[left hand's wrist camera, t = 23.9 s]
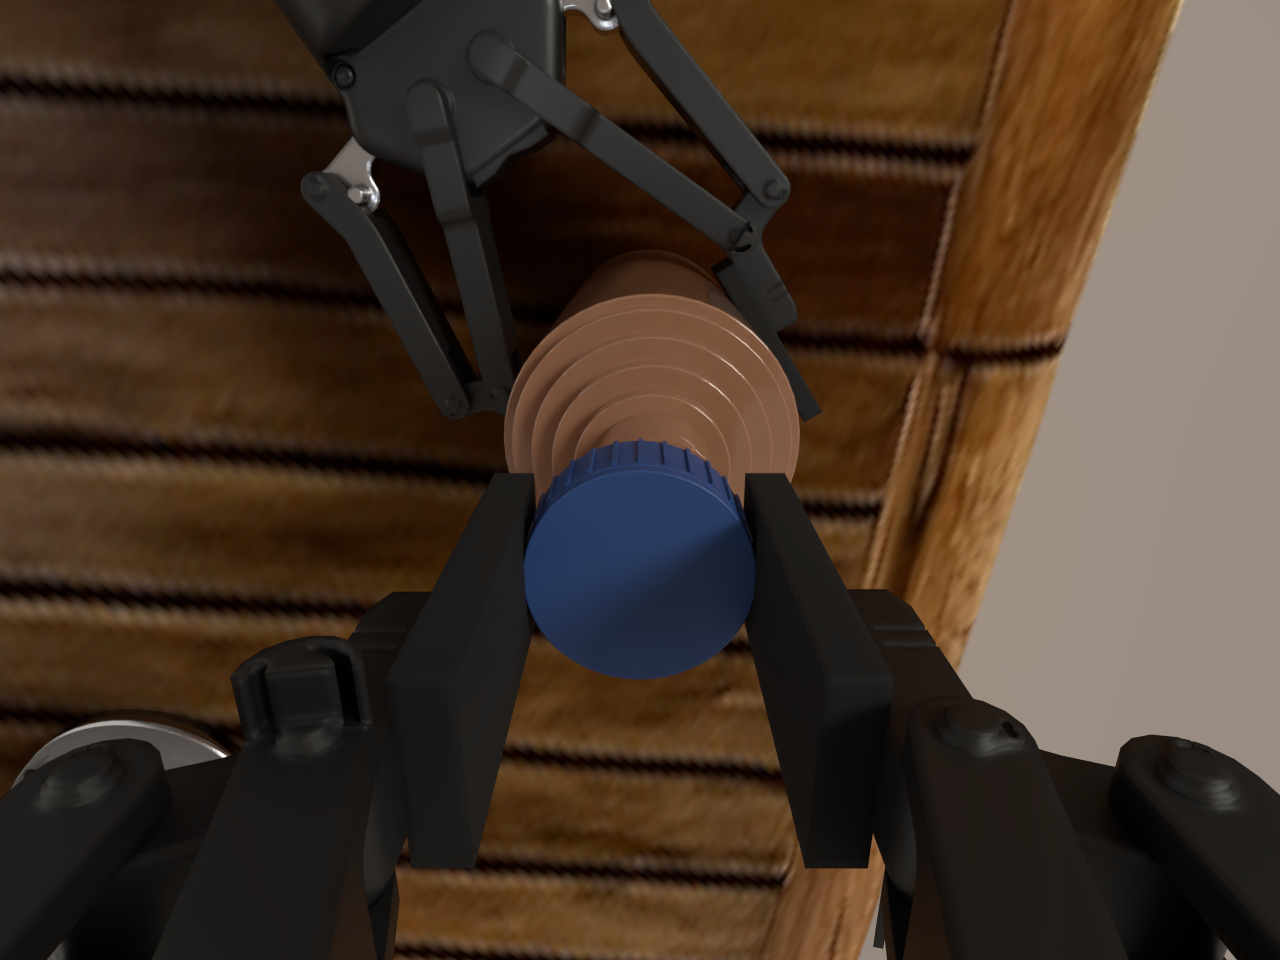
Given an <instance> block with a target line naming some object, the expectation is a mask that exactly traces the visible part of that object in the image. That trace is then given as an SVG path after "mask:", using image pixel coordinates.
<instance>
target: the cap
mask: <svg viewBox="0 0 1280 960" xmlns="http://www.w3.org/2000/svg"><path fill="white" fill-rule="evenodd" d="M526 544H527V547H526V550H525V555H524V576H525V592H526V602H527V605H528V608H529V610H530V612H531V615H532V617H533V619H534V621H535V622H536V624H537V626H538V627H539V629H540V630H541V632H542V633H543V634H544V635H545V637H546V638H547V639H548V640H549V641H550V642H551V643H552V644H553V645H554V646H555V647H556V648H557V649H558V650H559V651H560V652H562V653H563V654H564V655H565V656H567V657H568V658H569V659H571V660H573V661H575V662H576V663H578V664H580V665H581V666H584V667H586V668H588V669H590V670H593V671H595V672H598V673H602V674H605V675H608V676H613V677H618V678H625V679H654V678H661V677H667V676H671V675H675V674H678V673H681V672H684V671H687V670H689V669H692V668H694V667H696V666H698V665H700V664H702V663H703V662H705V661H707V660H708V659H710V658H711V657H713V656H714V655H715V654H717V653H718V652H719V651H720V650H721V649H723V648H724V647H725V646H726V645H727V644H728V643H729V642H730V641H731V640H732V638H733V637H734V636H735V635H736V634H737V632H738V631H739V629H740V628H741V626H742V625H743V623H744V622H745V620H746V618H747V616H748V613H749V611H750V609H751V606H752V603H753V599H754V585H755V567H756V557H755V553H754V549H753V546H752V545H753V538H752V535H751V532H750V529H749V526H748V523H747V519H746V516H745V513H744V510H743V507H742V504H741V501H740V498H739V496H738V494H736V495H734V493H733V491H732V490H731V488H730V487H729V483H728V480H727V478H726V476H725V475H724V476H721V475H720V474H719V473H718V472H717V471H716V470H715V469H714V468H713V467H712V466H711V463H710V461H708V460H706V461H704V460H702V459H701V458H699V457H698V456H696V455H694V454H692V453H691V452H690V449H688V448H686V449H685V450H684V449H681V448H679V447H676V446H673V445H670V444H667V441H662V443H660V442H654V441H643V439H642V438H638V441H626V442H620V443H618V440H617V441H614V443H613V444H610V445H607V446H604V447H600V448H598V449H596V450H595V448H592V449H590V452H589V453H587V454H585V455H584V456H582V457H580V458H579V459H577V460H574V459H573V460H571V461H570V463H569V466H568V467H567V468H565V469H564V470H563V471H562V472H561V474H560V475H559V476H557V475H555V476H554V477H553V480H552V483H551V486H550V487H549V489H548V490H547V492H546V494H544V493H542V495H541V497H540V500H539V503H538V506H537V509H536V512H535V515H534V518H533V521H532V524H531V527H530V530H529V533H528V536H527V539H526Z"/></svg>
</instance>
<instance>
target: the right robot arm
mask: <svg viewBox="0 0 1280 960" xmlns="http://www.w3.org/2000/svg"><path fill="white" fill-rule="evenodd" d="M274 2H275V3H276V5H277V6H278V7H279V9H280V10H281V12H282V13H283V14H284V16H285V17H286V19H287V20H288V22H289V23H290V24H291V26H292V27H293V29H294V30H295V31H296V33H297V34H298V36H299V37H300V38H301V40H302V41H303V43H304V44H305V45H306V47H307V48H308V50H309V51H310V52H311V54H312V55H313V57H314V58H315V60H316V61H317V62H318V64H319V65H320V67H321V68H322V69H323V71H324V72H325V74H326V75H327V76H328V78H329V79H330V81H331V82H332V83H333V85H334V86H335V87H336V89H337V90H338V92H339V94H340V96H341V98H342V100H343V103H344V105H345V108H346V112H347V117H348V123H349V128H350V131H351V133H352V138H351V139H350V140H349V141H348V142H347V144H346V145H345V146H344V147H343V149H342V150H341V151H340V152H339V153H338V155H337V156H336V157H335V158H334V159H333V161H332V162H331V163H330V164H329V166H328V167H327V168H326V169H325V170H324V171H323V172H320V171H314V172H309V173H308V174H306V175H305V176H304V177H303V179H302V181H301V189H300V190H301V193H302V196H303V198H304V199H305V200H306V202H307V203H308V204H309V205H310V206H311V207H312V208H313V209H314V210H315V211H316V212H317V213H319V214H320V215H321V216H322V217H323V218H324V219H325V220H326V221H327V222H328V223H329V224H330V225H331V226H332V227H333V228H334V229H335V230H336V231H337V232H338V233H339V234H340V235H341V236H342V237H344V238H345V240H346V241H347V243H348V245H349V247H350V249H351V251H352V252H353V254H354V256H355V258H356V260H357V261H358V263H359V265H360V267H361V269H362V271H363V272H364V274H365V276H366V278H367V280H368V281H369V283H370V285H371V287H372V289H373V290H374V292H375V294H376V296H377V298H378V300H379V301H380V303H381V305H382V307H383V309H384V310H385V312H386V314H387V316H388V318H389V319H390V321H391V323H392V325H393V327H394V329H395V330H396V332H397V334H398V336H399V338H400V339H401V341H402V343H403V345H404V347H405V348H406V350H407V352H408V354H409V356H410V358H411V359H412V361H413V363H414V365H415V367H416V368H417V370H418V372H419V374H420V376H421V377H422V379H423V381H424V383H425V385H426V387H427V388H428V390H429V392H430V394H431V396H432V397H433V399H434V401H435V403H436V405H437V407H438V408H439V410H440V412H441V413H442V414H443V415H444V416H445V417H447V418H448V419H452V420H458V419H462V418H463V417H465V416H466V415H469V414H473V413H478V412H482V411H495V412H498V413H500V414H501V415H503V416H504V417H505V415H506V409H507V404H508V400H509V397H510V394H511V391H512V388H513V385H514V382H515V380H516V378H517V376H518V374H519V372H520V370H521V368H522V366H523V365H524V363H523V359H522V355H521V351H520V346H519V342H518V338H517V333H516V329H515V325H514V321H513V316H512V312H511V308H510V304H509V299H508V295H507V291H506V287H505V282H504V278H503V274H502V269H501V265H500V261H499V257H498V252H497V248H496V244H495V240H494V235H493V231H492V227H491V222H490V207H489V203H488V198H487V194H486V190H485V188H489V187H491V186H492V185H493V184H495V183H496V182H497V181H499V180H500V179H502V178H503V177H504V176H505V175H506V174H507V173H508V171H509V170H510V169H511V167H512V166H513V165H514V164H515V162H516V161H517V160H518V159H519V158H520V157H523V156H526V155H529V154H531V153H534V152H537V151H539V150H541V149H542V148H544V147H545V146H546V145H548V144H549V143H550V142H552V141H553V140H554V139H556V137H555V134H556V133H557V132H558V130H559V131H560V132H562V133H563V134H564V135H566V136H567V137H569V138H570V139H571V140H573V141H574V142H575V143H577V144H578V145H580V146H581V147H582V148H584V149H585V150H587V151H588V152H590V153H591V154H592V155H594V156H595V157H596V158H598V159H599V160H601V161H602V162H603V163H605V164H606V165H608V166H609V167H610V168H612V169H613V170H615V171H616V172H617V173H619V174H620V175H622V176H623V177H624V178H626V179H627V180H629V181H630V182H631V183H633V184H634V185H636V186H637V187H638V188H640V189H641V190H643V191H644V192H645V193H647V194H648V195H650V196H651V197H652V198H654V199H655V200H656V201H658V202H659V203H661V204H662V205H663V206H665V207H666V208H668V209H669V210H670V211H672V212H673V213H675V214H676V215H677V216H679V217H680V218H682V219H683V220H684V221H686V222H687V223H689V224H690V225H691V226H693V227H694V228H696V229H697V230H698V231H700V232H701V233H703V234H704V235H705V236H707V237H708V238H710V239H711V240H712V241H714V242H715V243H716V244H718V245H719V246H720V247H721V248H722V250H723V252H724V253H725V255H726V258H725V259H723V260H722V261H720V262H719V263H717V264H716V265H714V266H713V267H711V270H712V271H713V273H714V275H715V276H716V278H717V280H718V281H719V283H720V285H721V286H722V288H723V290H724V291H725V293H726V295H727V296H728V298H729V299H730V301H731V302H732V303H733V304H734V305H735V307H736V308H737V309H738V310H739V312H740V313H741V314H742V315H743V317H744V318H745V319H746V320H747V322H748V323H749V324H750V325H751V327H752V328H753V329H754V330H755V331H756V333H757V334H758V335H759V336H760V338H761V339H762V340H763V341H764V343H765V344H766V345H767V346H768V348H769V349H770V350H771V352H772V353H773V354H774V356H775V357H776V358H777V360H778V361H779V363H780V365H781V367H782V369H783V370H784V372H785V374H786V376H787V378H788V380H789V383H790V386H791V388H792V391H793V394H794V397H795V401H796V406H797V410H798V413H799V415H800V416H801V418H802V419H803V420H804V422H805V421H807V420H809V419H811V418H812V417H814V416H816V415H817V414H819V413H821V412H822V411H821V409H820V407H819V406H818V404H817V402H816V401H815V399H814V397H813V395H812V394H811V392H810V390H809V389H808V387H807V385H806V383H805V382H804V380H803V378H802V377H801V375H800V373H799V372H798V370H797V368H796V366H795V365H794V363H793V361H792V360H791V358H790V356H789V354H788V353H787V351H786V349H785V348H784V346H783V344H782V343H781V341H780V339H779V337H778V336H777V334H776V333H777V332H779V331H781V330H782V329H784V328H785V327H787V326H788V325H790V324H792V323H793V322H795V321H796V320H798V318H797V310H796V304H795V303H794V301H793V299H792V297H791V296H790V294H789V292H788V290H787V289H786V287H785V285H784V283H783V282H782V280H781V278H780V276H779V275H778V273H777V271H776V269H775V268H774V266H773V264H772V262H771V261H770V259H769V257H768V255H767V254H766V252H765V250H764V247H763V245H762V233H763V230H764V228H765V226H766V224H767V223H768V222H769V220H770V219H771V218H772V216H773V215H774V214H775V212H776V211H777V210H778V209H779V207H780V206H782V205H783V204H784V203H785V202H786V201H787V199H788V198H789V195H790V192H791V188H790V182H789V180H788V178H787V177H786V176H785V174H784V173H783V172H782V170H781V169H780V168H779V167H778V165H777V164H776V163H775V162H774V160H773V159H772V158H771V156H770V155H769V154H768V153H767V151H766V150H765V149H764V148H763V146H762V145H761V144H760V142H759V141H758V140H757V139H756V137H755V136H754V135H753V134H752V132H751V131H750V130H749V128H748V127H747V126H746V125H745V123H744V122H743V121H742V120H741V118H740V117H739V116H738V114H737V113H736V112H735V111H734V109H733V108H732V107H731V106H730V104H729V103H728V102H727V100H726V99H725V98H724V97H723V95H722V94H721V93H720V92H719V90H718V89H717V88H716V87H715V85H714V84H713V83H712V81H711V80H710V79H709V78H708V76H707V75H706V74H705V73H704V71H703V70H702V69H701V67H700V66H699V65H698V64H697V62H696V61H695V60H694V59H693V57H692V56H691V55H690V53H689V52H688V51H687V50H686V48H685V47H684V46H683V45H682V43H681V42H680V41H679V39H678V38H677V37H676V36H675V34H674V33H673V32H672V31H671V29H670V28H669V27H668V25H667V24H666V23H665V22H664V20H663V19H662V18H661V17H660V15H659V14H658V13H657V11H656V10H655V9H654V8H653V6H652V3H651V1H650V0H274ZM572 15H579V16H581V17H584V18H585V19H586V20H588V21H589V23H590V24H591V26H592V27H593V28H594V30H595V31H596V32H598V33H599V34H601V35H604V36H610V35H613V34H615V33H617V32H619V34H620V36H621V38H622V40H623V42H624V43H625V45H626V47H627V49H628V50H629V52H630V53H631V54H632V56H633V57H634V59H635V60H636V61H637V63H638V64H639V65H640V66H641V68H642V69H643V70H644V71H645V72H646V74H647V75H648V76H649V77H650V79H651V80H652V81H653V82H654V84H655V85H656V86H657V87H658V88H659V90H660V91H661V92H662V93H663V95H664V96H665V97H666V98H667V100H668V101H669V102H670V103H671V105H672V106H673V107H674V108H675V109H676V111H677V112H678V113H679V114H680V116H681V117H682V118H683V119H684V121H685V122H686V123H687V124H688V125H689V127H690V128H691V129H692V130H693V132H694V133H695V134H696V135H697V137H698V138H699V139H700V140H701V142H702V143H703V144H704V145H705V146H706V148H707V149H708V150H709V151H710V153H711V154H712V155H713V156H714V158H715V159H716V160H717V161H718V162H719V164H720V165H721V166H722V167H723V169H724V170H725V171H726V172H727V174H728V175H729V176H730V177H731V179H732V180H733V181H734V182H735V183H736V185H737V186H738V187H739V188H740V190H741V191H742V192H743V194H742V195H741V196H740V198H739V199H738V200H737V202H736V203H735V204H734V206H733V207H732V208H731V209H730V208H729V207H728V206H726V205H725V204H724V203H722V202H721V201H719V200H718V199H717V198H715V197H714V196H713V195H711V194H710V193H708V192H707V191H706V190H704V189H703V188H702V187H700V186H699V185H698V184H696V183H695V182H693V181H692V180H691V179H689V178H688V177H687V176H685V175H684V174H682V173H681V172H680V171H678V170H677V169H676V168H674V167H673V166H672V165H670V164H669V163H667V162H666V161H665V160H663V159H662V158H661V157H659V156H658V155H656V154H655V153H654V152H652V151H651V150H650V149H648V148H647V147H646V146H644V145H643V144H641V143H640V142H639V141H637V140H636V139H635V138H633V137H632V136H630V135H629V134H628V133H626V132H625V131H624V130H622V129H621V128H620V127H618V126H617V125H615V124H614V123H613V122H611V121H610V120H609V119H607V118H606V117H604V116H603V115H602V114H600V113H599V112H598V111H597V110H596V109H594V108H593V107H592V106H591V105H589V104H588V103H587V102H585V101H584V100H583V99H581V98H580V97H578V96H577V95H576V94H574V93H573V92H572V91H570V90H569V89H567V88H566V87H565V76H566V17H569V16H572ZM382 160H384V161H386V162H389V163H391V164H394V165H396V166H399V167H401V168H404V169H406V170H409V171H411V172H414V173H416V174H419V175H421V176H424V177H426V178H427V182H428V186H429V190H430V194H431V198H432V201H433V205H434V209H435V213H436V216H437V219H438V221H439V223H440V224H441V226H442V228H443V230H444V233H445V237H446V241H447V245H448V249H449V253H450V256H451V260H452V264H453V268H454V272H455V276H456V280H457V284H458V288H459V292H460V295H461V299H462V303H463V307H464V311H465V315H466V319H467V323H468V327H469V331H470V335H471V338H472V342H473V346H474V350H475V354H476V358H477V362H478V366H479V370H480V374H478V375H476V374H475V372H474V370H473V368H472V366H471V364H470V363H469V361H468V359H467V357H466V355H465V353H464V351H463V349H462V347H461V345H460V344H459V342H458V340H457V338H456V336H455V334H454V332H453V330H452V328H451V326H450V324H449V323H448V321H447V319H446V317H445V315H444V313H443V311H442V309H441V307H440V305H439V303H438V302H437V300H436V298H435V296H434V294H433V292H432V290H431V288H430V286H429V284H428V283H427V281H426V279H425V277H424V275H423V273H422V271H421V269H420V267H419V265H418V263H417V262H416V260H415V258H414V256H413V254H412V252H411V250H410V248H409V246H408V244H407V242H406V241H405V239H404V237H403V235H402V233H401V232H400V230H399V228H398V226H397V225H396V223H395V222H394V220H393V219H392V218H391V216H390V215H389V214H388V212H387V211H386V210H385V209H384V207H385V206H386V204H387V201H388V194H387V190H386V188H385V186H384V185H383V183H382V182H381V180H380V176H379V167H380V164H381V162H382Z"/></svg>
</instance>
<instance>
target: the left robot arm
mask: <svg viewBox="0 0 1280 960" xmlns="http://www.w3.org/2000/svg"><path fill="white" fill-rule="evenodd" d="M743 510H744V513H745V516H746V519H747V523H748V526H749V529H750V532H751V535H752V538H753V545H752V546H753V549H754V553H755V557H756V567H755V585H754V599H753V603H752V606H751V609H750V611H749V613H748V616H747V618H746V620H745V626H746V630H747V634H748V638H749V642H750V647H751V651H752V655H753V659H754V663H755V667H756V671H757V675H758V679H759V683H760V687H761V691H762V695H763V699H764V703H765V707H766V711H767V715H768V719H769V723H770V727H771V731H772V735H773V739H774V743H775V747H776V751H777V755H778V760H779V764H780V768H781V772H782V776H783V780H784V784H785V788H786V792H787V796H788V800H789V804H790V808H791V812H792V816H793V820H794V824H795V828H796V832H797V836H798V840H799V844H800V848H801V852H802V856H803V860H804V864H805V868H868V863H869V856H870V849H871V842H872V835H873V834H874V837H875V840H876V842H877V845H878V848H879V850H880V853H881V856H882V859H883V861H884V864H885V872H884V878H883V885H882V891H881V898H880V904H879V911H878V917H877V924H876V930H875V938H874V945H873V947H877V948H882V949H883V946H884V941H885V945H886V954H887V960H1226V959H1225V957H1224V955H1225V953H1226V950H1227V948H1228V950H1229V951H1230V952H1231V953H1232V954H1233V956H1234V957H1235V958H1236V959H1237V960H1280V795H1279V794H1278V793H1277V792H1276V791H1275V790H1273V789H1272V788H1271V787H1270V786H1269V785H1268V784H1267V783H1266V782H1264V781H1263V780H1262V779H1261V778H1260V777H1259V776H1257V775H1256V774H1255V773H1253V772H1252V771H1250V770H1249V769H1247V768H1246V767H1245V766H1243V765H1242V764H1241V763H1239V762H1238V761H1236V760H1235V759H1233V758H1231V757H1229V756H1227V755H1225V754H1222V753H1220V752H1218V751H1216V750H1214V749H1212V748H1210V747H1208V746H1206V745H1203V744H1200V743H1197V742H1192V741H1190V740H1186V739H1182V738H1178V737H1170V736H1160V735H1146V736H1141V737H1136V738H1131V739H1130V740H1129V741H1128V742H1127V743H1125V744H1124V745H1123V746H1122V747H1121V748H1120V752H1119V755H1118V759H1117V762H1116V766H1115V767H1113V766H1108V765H1104V764H1099V763H1094V762H1089V761H1085V760H1080V759H1075V758H1070V757H1066V756H1061V755H1058V754H1054V753H1050V752H1047V751H1043V750H1040V749H1039V748H1038V746H1037V744H1036V741H1035V740H1034V738H1033V737H1032V736H1031V734H1030V733H1029V731H1028V730H1027V729H1026V727H1025V726H1024V725H1023V724H1022V723H1021V722H1019V721H1018V720H1017V719H1015V718H1014V717H1013V716H1011V715H1010V714H1009V713H1007V712H1006V711H1004V710H1002V709H999V708H997V707H995V706H993V705H990V704H988V703H986V702H984V701H980V700H976V699H973V698H972V696H971V695H970V693H969V692H968V690H967V689H966V687H965V686H964V684H963V683H962V681H961V680H960V678H959V677H958V675H957V674H956V672H955V671H954V669H953V668H952V666H951V665H950V663H949V662H948V660H947V659H946V657H945V656H944V654H943V653H942V651H941V650H940V648H939V647H936V642H935V641H934V639H933V638H932V636H931V635H930V634H929V632H928V631H927V630H925V626H924V625H923V623H922V622H921V620H920V619H919V617H918V616H917V614H916V613H915V611H914V610H913V608H912V607H911V606H910V605H909V604H907V603H906V602H904V601H903V600H901V599H900V598H898V597H897V596H895V595H894V594H893V593H891V592H890V591H888V590H887V589H846V587H845V585H844V583H843V581H842V580H841V578H840V576H839V574H838V572H837V570H836V568H835V566H834V565H833V563H832V561H831V559H830V557H829V555H828V553H827V551H826V550H825V548H824V546H823V544H822V542H821V540H820V538H819V536H818V534H817V533H816V531H815V529H814V527H813V525H812V523H811V521H810V519H809V518H808V516H807V514H806V512H805V510H804V508H803V506H802V504H801V503H800V501H799V499H798V497H797V495H796V493H795V491H794V489H793V488H792V486H791V484H790V482H789V480H788V478H787V476H786V474H785V473H745V487H744V506H743ZM535 512H536V496H535V477H534V473H494V475H493V477H492V479H491V481H490V483H489V485H488V487H487V488H486V490H485V492H484V494H483V496H482V498H481V500H480V502H479V503H478V505H477V507H476V509H475V511H474V513H473V515H472V517H471V518H470V520H469V522H468V524H467V526H466V528H465V530H464V532H463V534H462V535H461V537H460V539H459V541H458V543H457V545H456V547H455V549H454V550H453V552H452V554H451V556H450V558H449V560H448V562H447V564H446V565H445V567H444V569H443V571H442V573H441V575H440V577H439V579H438V580H437V582H436V584H435V586H434V588H433V590H432V592H392V593H391V594H389V595H388V596H386V597H385V598H383V599H382V600H381V601H379V602H378V603H376V604H375V605H373V606H372V607H370V608H369V609H368V610H367V612H366V613H365V615H364V616H363V618H362V619H361V621H360V622H359V624H358V625H357V627H356V628H355V633H352V634H351V636H350V637H349V639H348V640H346V639H342V638H338V637H335V636H309V637H304V638H299V639H294V640H289V641H285V642H282V643H279V644H277V645H274V646H272V647H269V648H266V649H264V650H262V651H260V652H258V653H257V654H255V655H254V656H252V657H251V658H249V659H248V660H246V661H244V662H243V663H242V664H241V665H240V666H239V667H238V669H237V670H236V671H235V672H234V673H233V674H232V676H231V677H230V678H231V682H232V687H233V691H234V696H235V700H236V704H237V709H238V713H239V717H240V722H241V726H242V730H243V735H244V739H245V743H244V745H243V747H242V748H241V747H240V746H238V745H237V744H235V743H234V742H232V741H231V740H229V739H228V738H226V737H225V736H223V735H221V734H219V733H218V732H216V731H214V730H212V729H210V728H208V727H206V726H204V725H201V724H199V723H196V722H193V721H191V720H188V719H185V718H181V717H178V716H174V715H170V714H166V713H160V712H153V711H143V710H120V711H110V712H105V713H100V714H96V715H92V716H89V717H86V718H84V719H81V720H79V721H77V722H75V723H73V724H71V725H69V726H68V727H66V728H65V729H63V730H62V731H60V732H59V733H58V734H57V735H56V736H55V737H54V738H52V739H51V740H50V741H49V742H48V743H47V744H46V745H45V746H44V747H42V748H41V749H40V750H39V751H38V752H37V753H36V754H35V755H34V757H33V758H32V759H31V760H30V762H29V763H28V764H27V765H26V766H25V767H24V769H23V770H22V771H21V772H20V774H19V775H18V777H17V779H16V780H15V782H14V784H13V786H12V788H11V790H10V791H9V792H8V793H7V794H6V795H5V796H3V797H2V798H1V799H0V960H393V956H394V946H395V937H396V928H397V919H398V910H399V900H400V899H399V892H398V885H397V878H396V872H395V866H396V864H397V861H398V858H399V856H400V853H401V850H402V847H403V845H404V842H405V839H406V836H407V839H408V846H409V853H410V860H411V867H412V868H474V866H475V862H476V858H477V854H478V850H479V846H480V842H481V838H482V834H483V830H484V826H485V822H486V818H487V814H488V810H489V806H490V802H491V798H492V794H493V790H494V786H495V782H496V778H497V774H498V770H499V766H500V762H501V758H502V753H503V749H504V745H505V741H506V737H507V733H508V729H509V725H510V721H511V717H512V713H513V709H514V705H515V701H516V697H517V693H518V689H519V685H520V681H521V677H522V673H523V669H524V665H525V661H526V657H527V653H528V649H529V645H530V641H531V636H532V632H533V628H534V624H535V621H534V619H533V617H532V615H531V612H530V610H529V608H528V605H527V602H526V592H525V576H524V555H525V550H526V547H527V544H526V539H527V536H528V533H529V530H530V527H531V524H532V521H533V518H534V515H535Z"/></svg>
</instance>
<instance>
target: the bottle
mask: <svg viewBox="0 0 1280 960" xmlns="http://www.w3.org/2000/svg"><path fill="white" fill-rule="evenodd" d="M638 438H642V439H643V441H654V442H660V443H662V441H667V444H670V445H673V446H676V447H679V448H681V449H684V450H685V449H686V448H688V449H690V452H691V453H692V454H694V455H696V456H698V457H699V458H701V459H702V460H704V461H706V460H708V461H710V463H711V466H712V467H713V468H714V469H715V470H716V471H717V472H718V473H719V474H720V475H721V476H724V475H725V476H726V478H727V480H728V483H729V487H730V488H731V490H732V491H733V493H734V495H736V494H738V496H739V498H740V501H741V504H742V507H743V506H744V487H745V473H785V474H786V476H787V478H788V480H789V482H790V483H791V480H792V477H793V474H794V471H795V468H796V463H797V458H798V453H799V439H800V428H799V416H798V410H797V406H796V401H795V397H794V394H793V391H792V388H791V386H790V383H789V380H788V378H787V376H786V374H785V372H784V370H783V369H782V367H781V365H780V363H779V361H778V360H777V358H776V357H775V356H774V354H773V353H772V352H771V350H770V349H769V348H768V346H767V345H766V344H765V343H764V341H763V340H762V339H761V338H760V336H759V335H758V334H757V333H756V331H755V330H754V329H753V328H752V327H751V325H750V324H749V323H748V322H747V320H746V319H745V318H744V317H743V315H742V314H741V313H740V312H739V310H738V309H737V308H736V307H735V305H734V304H733V303H732V302H731V301H730V299H729V298H728V297H727V296H726V294H725V293H724V292H723V291H722V289H721V288H720V287H719V286H718V284H717V283H716V282H715V281H714V280H713V278H712V277H711V276H710V275H709V274H708V273H707V272H706V271H705V270H704V269H702V268H701V267H700V266H698V265H697V264H696V263H694V262H692V261H691V260H689V259H687V258H685V257H683V256H680V255H678V254H675V253H671V252H667V251H661V250H639V251H633V252H629V253H626V254H622V255H619V256H617V257H615V258H613V259H611V260H609V261H608V262H606V263H604V264H603V265H601V266H600V267H599V268H598V269H596V270H595V271H594V272H593V273H592V274H591V275H590V276H589V277H588V278H587V279H586V281H585V282H584V283H583V284H582V286H581V287H580V288H579V290H578V291H577V292H576V294H575V295H574V296H573V298H572V299H571V300H570V302H569V303H568V304H567V306H566V307H565V308H564V310H563V311H562V312H561V314H560V315H559V316H558V318H557V319H556V320H555V322H554V323H553V325H552V326H551V327H550V329H549V330H548V331H547V333H546V334H545V335H544V337H543V338H542V339H541V341H540V342H539V343H538V345H537V346H536V347H535V349H534V350H533V351H532V353H531V354H530V356H529V357H528V359H527V360H526V362H525V363H524V365H523V366H522V368H521V370H520V372H519V374H518V376H517V378H516V380H515V382H514V385H513V388H512V391H511V394H510V397H509V400H508V404H507V409H506V415H505V420H504V447H505V457H506V461H507V466H508V470H509V473H534V477H535V496H536V509H537V506H538V503H539V500H540V497H541V495H542V493H544V494H546V492H547V490H548V489H549V487H550V486H551V483H552V480H553V477H554V476H555V475H557V476H559V475H560V474H561V472H562V471H563V470H564V469H565V468H567V467H568V466H569V463H570V461H571V460H573V459H574V460H577V459H579V458H580V457H582V456H584V455H585V454H587V453H589V452H590V449H592V448H595V450H596V449H598V448H600V447H604V446H607V445H610V444H613V443H614V441H617V440H618V443H620V442H626V441H638Z"/></svg>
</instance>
